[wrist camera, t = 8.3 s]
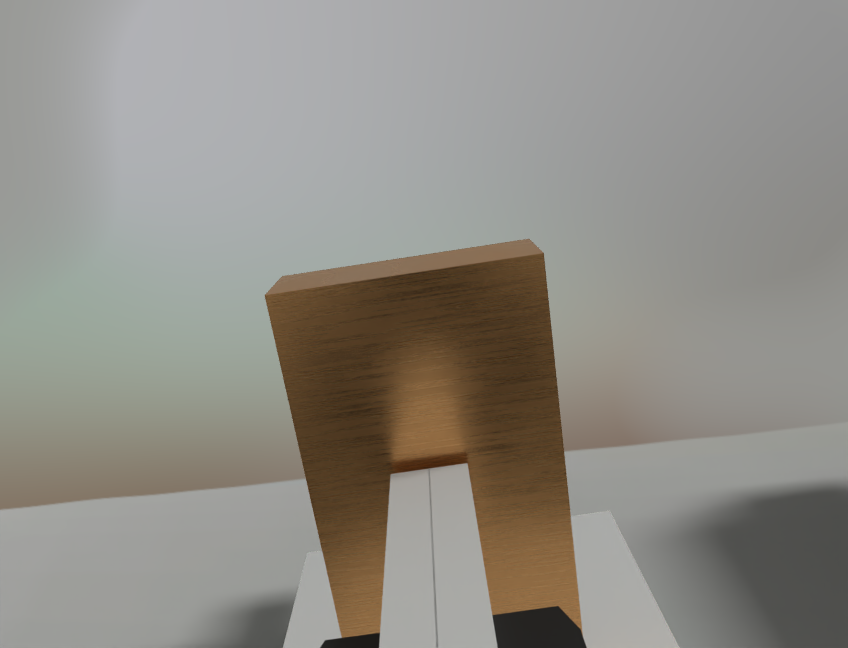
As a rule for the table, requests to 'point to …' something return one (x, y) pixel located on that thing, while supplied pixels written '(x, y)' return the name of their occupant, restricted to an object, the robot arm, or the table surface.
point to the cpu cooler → (597, 586)
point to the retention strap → (430, 414)
